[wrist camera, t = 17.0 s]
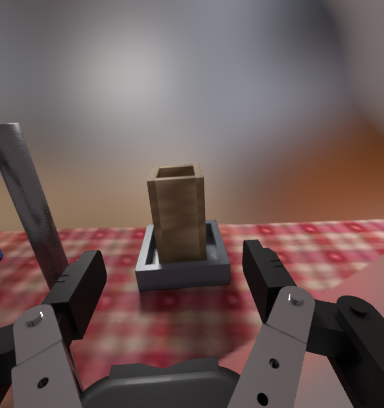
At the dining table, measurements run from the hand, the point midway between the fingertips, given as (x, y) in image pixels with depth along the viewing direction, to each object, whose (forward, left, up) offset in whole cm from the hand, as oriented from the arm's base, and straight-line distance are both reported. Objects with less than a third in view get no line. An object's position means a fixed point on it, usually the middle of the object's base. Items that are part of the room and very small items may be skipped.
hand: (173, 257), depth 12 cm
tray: (-5, +10, -9) cm, 14 cm away
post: (-12, 0, -9) cm, 15 cm away
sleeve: (-5, +10, -8) cm, 14 cm away
